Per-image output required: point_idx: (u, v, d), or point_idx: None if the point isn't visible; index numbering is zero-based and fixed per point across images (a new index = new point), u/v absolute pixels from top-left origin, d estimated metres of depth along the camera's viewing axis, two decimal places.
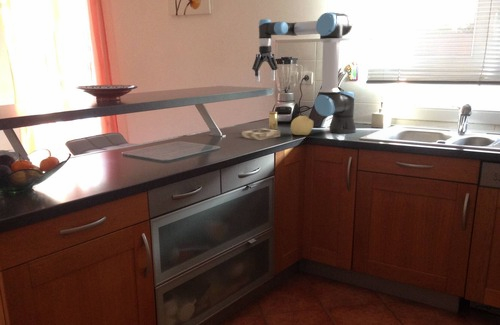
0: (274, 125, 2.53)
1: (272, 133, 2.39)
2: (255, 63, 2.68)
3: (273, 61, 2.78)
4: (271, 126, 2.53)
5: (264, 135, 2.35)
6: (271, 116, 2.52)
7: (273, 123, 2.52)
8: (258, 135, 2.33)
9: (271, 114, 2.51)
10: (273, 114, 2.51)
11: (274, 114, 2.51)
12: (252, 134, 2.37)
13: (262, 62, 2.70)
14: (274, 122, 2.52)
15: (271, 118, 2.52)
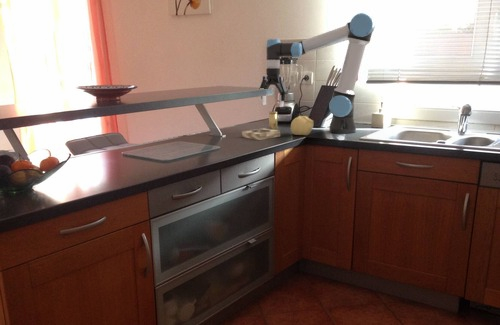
0: (274, 125, 2.53)
1: (272, 133, 2.39)
2: None
3: (281, 85, 2.45)
4: (271, 126, 2.53)
5: (264, 135, 2.35)
6: (271, 116, 2.52)
7: (273, 123, 2.52)
8: (258, 135, 2.33)
9: (271, 114, 2.51)
10: (273, 114, 2.51)
11: (274, 114, 2.51)
12: (252, 134, 2.37)
13: (266, 85, 2.52)
14: (274, 122, 2.52)
15: (271, 118, 2.52)
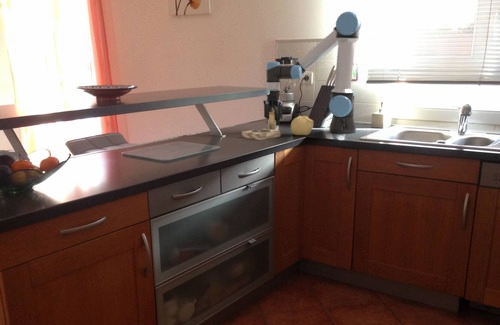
0: None
1: (272, 133, 2.39)
2: None
3: None
4: (271, 126, 2.53)
5: (264, 135, 2.35)
6: (271, 116, 2.52)
7: (273, 123, 2.52)
8: (258, 135, 2.33)
9: (271, 114, 2.51)
10: (273, 114, 2.51)
11: (274, 114, 2.51)
12: (252, 134, 2.37)
13: (269, 108, 2.53)
14: None
15: (271, 118, 2.52)
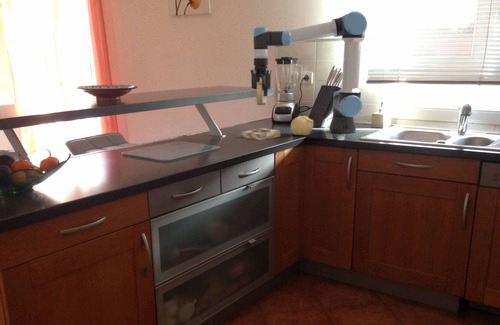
0: None
1: (272, 133, 2.39)
2: None
3: None
4: (258, 97, 2.37)
5: (264, 135, 2.35)
6: (259, 86, 2.36)
7: (261, 94, 2.36)
8: (258, 135, 2.33)
9: (258, 84, 2.36)
10: (261, 84, 2.35)
11: None
12: (252, 134, 2.37)
13: (256, 78, 2.37)
14: (261, 93, 2.36)
15: (258, 88, 2.36)
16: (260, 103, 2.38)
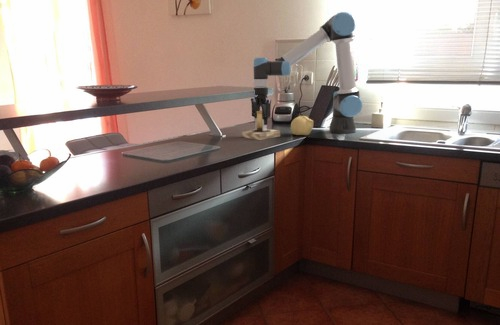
0: None
1: (272, 133, 2.39)
2: None
3: None
4: (259, 126, 2.40)
5: (264, 135, 2.35)
6: (259, 115, 2.39)
7: (261, 123, 2.40)
8: (258, 135, 2.33)
9: (259, 113, 2.39)
10: (261, 113, 2.38)
11: (262, 113, 2.39)
12: (252, 134, 2.37)
13: (257, 106, 2.40)
14: (261, 122, 2.40)
15: (258, 117, 2.39)
16: None
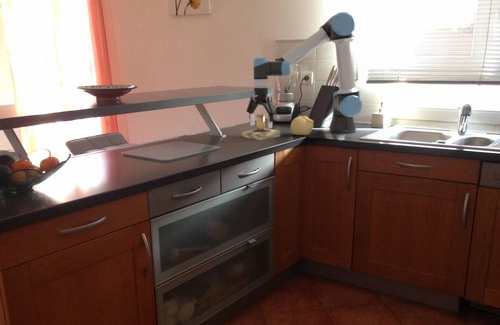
0: (262, 129, 2.41)
1: (272, 133, 2.39)
2: None
3: None
4: (258, 130, 2.41)
5: (264, 135, 2.35)
6: (259, 119, 2.40)
7: (260, 127, 2.40)
8: (258, 135, 2.33)
9: (258, 117, 2.39)
10: (260, 117, 2.39)
11: (261, 117, 2.39)
12: (252, 134, 2.37)
13: (254, 105, 2.42)
14: (261, 126, 2.40)
15: (258, 121, 2.40)
16: None
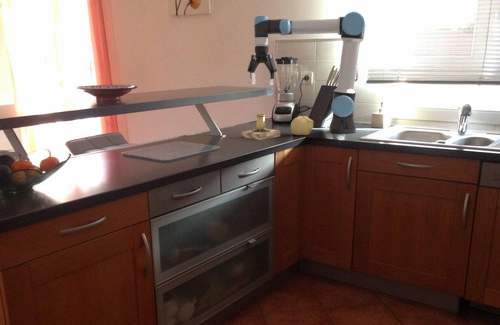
0: (262, 129, 2.41)
1: (272, 133, 2.39)
2: None
3: (270, 63, 2.40)
4: (258, 130, 2.41)
5: (264, 135, 2.35)
6: (259, 119, 2.40)
7: (260, 127, 2.40)
8: (258, 135, 2.33)
9: (258, 117, 2.39)
10: (260, 117, 2.39)
11: (262, 117, 2.39)
12: (252, 134, 2.37)
13: (255, 64, 2.47)
14: (261, 126, 2.40)
15: (258, 121, 2.40)
16: None
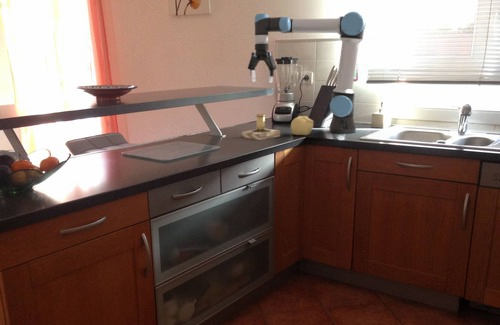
0: (262, 129, 2.41)
1: (272, 133, 2.39)
2: None
3: None
4: (258, 130, 2.41)
5: (264, 135, 2.35)
6: (259, 119, 2.40)
7: (260, 127, 2.40)
8: (258, 135, 2.33)
9: (258, 117, 2.39)
10: (260, 117, 2.39)
11: (262, 117, 2.39)
12: (252, 134, 2.37)
13: (255, 61, 2.49)
14: (261, 126, 2.40)
15: (258, 121, 2.40)
16: None
